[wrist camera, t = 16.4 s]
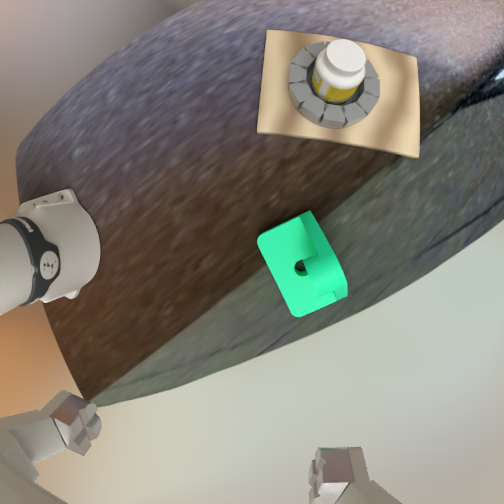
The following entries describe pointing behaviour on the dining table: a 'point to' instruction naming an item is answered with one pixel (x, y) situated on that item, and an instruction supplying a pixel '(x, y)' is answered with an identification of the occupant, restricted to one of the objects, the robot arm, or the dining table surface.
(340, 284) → the camera mount
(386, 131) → the board
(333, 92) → the supplement bottle
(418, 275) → the dining table surface
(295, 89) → the fire pit
